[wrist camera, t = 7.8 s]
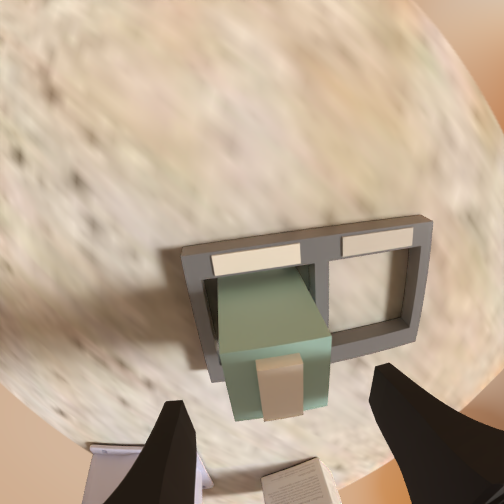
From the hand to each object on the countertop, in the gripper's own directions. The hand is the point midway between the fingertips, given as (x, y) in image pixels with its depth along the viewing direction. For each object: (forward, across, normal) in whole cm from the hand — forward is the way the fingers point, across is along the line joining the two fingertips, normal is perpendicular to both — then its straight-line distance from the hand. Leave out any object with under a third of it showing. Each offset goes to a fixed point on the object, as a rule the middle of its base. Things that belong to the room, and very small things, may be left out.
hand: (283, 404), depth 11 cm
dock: (+7, -3, 0) cm, 8 cm away
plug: (+7, 0, 0) cm, 7 cm away
